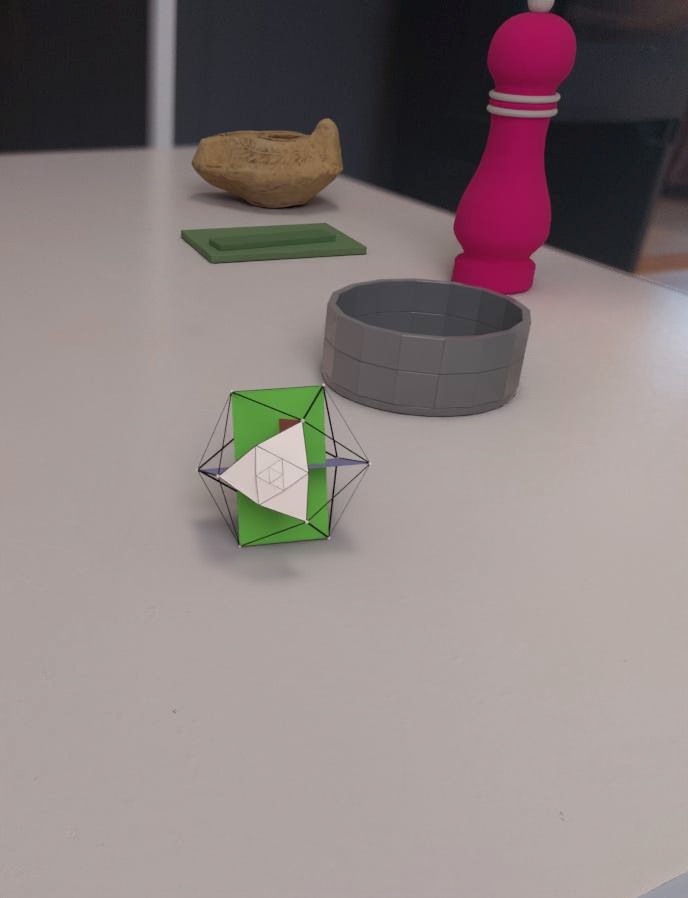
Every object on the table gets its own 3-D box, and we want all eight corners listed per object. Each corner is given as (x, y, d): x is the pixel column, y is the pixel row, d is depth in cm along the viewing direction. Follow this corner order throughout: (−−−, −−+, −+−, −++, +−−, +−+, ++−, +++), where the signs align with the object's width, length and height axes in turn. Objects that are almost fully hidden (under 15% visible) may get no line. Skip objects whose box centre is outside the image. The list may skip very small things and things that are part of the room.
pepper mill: (492, 301, 77) (548, -12, 66) (426, 278, 82) (467, -18, 71) (557, 288, 81) (621, -13, 69) (489, 266, 86) (539, -18, 74)
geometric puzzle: (180, 445, 49) (205, 347, 42) (316, 434, 51) (364, 338, 43) (205, 583, 47) (236, 507, 40) (346, 568, 49) (402, 492, 41)
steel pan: (472, 344, 69) (484, 276, 67) (548, 412, 60) (565, 335, 57) (302, 350, 67) (307, 280, 65) (352, 420, 58) (361, 341, 55)
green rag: (325, 229, 95) (326, 216, 95) (366, 253, 88) (367, 240, 88) (180, 237, 92) (180, 224, 91) (211, 263, 85) (211, 249, 84)
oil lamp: (193, 189, 109) (194, 104, 104) (334, 193, 109) (342, 109, 104) (188, 212, 100) (189, 121, 95) (342, 217, 100) (351, 125, 95)
